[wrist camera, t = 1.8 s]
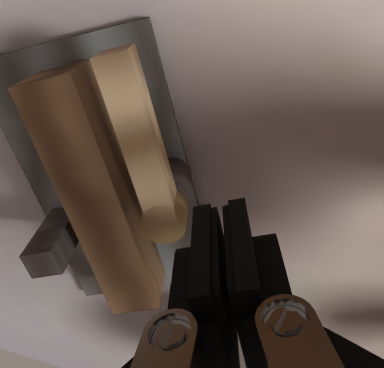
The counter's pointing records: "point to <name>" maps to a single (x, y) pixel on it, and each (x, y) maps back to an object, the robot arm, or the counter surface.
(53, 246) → the wooden gate latch
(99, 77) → the bar
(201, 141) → the counter surface
